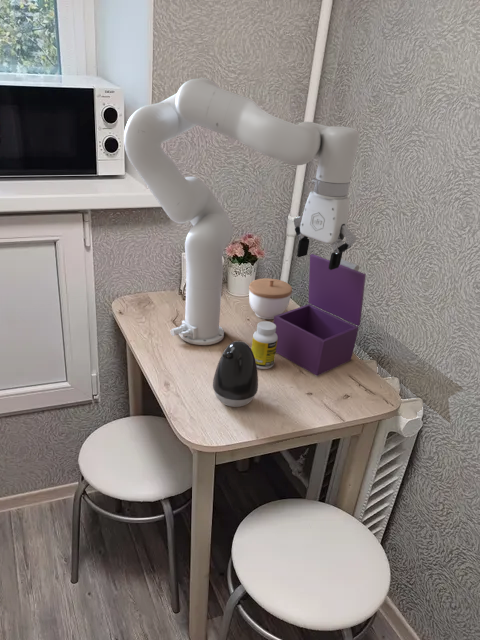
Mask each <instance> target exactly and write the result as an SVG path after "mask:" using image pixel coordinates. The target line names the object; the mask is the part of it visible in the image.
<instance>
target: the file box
mask: <svg viewBox="0 0 480 640" xmlns="http://www.w3.org/2000/svg"><path fill="white" fill-rule="evenodd" d="M272 323H274V324H275V325H276V332H275V333H276V334H277V336H278V340H277V346H276V353H275V354H277V355H279V356H282V357H283V358H285V359H286V360H288V361H290V362H291V363H294V364H295V365H296V366H299V367H301V368H302V369H304V370H306V371H307V372H309V373H311V374H313V375H315V376H316V377H318V376H320V375H323V374H325V373H327V372H329V371H331V370H334V369H336V368H338V367H340V366H342V365H344V364H347V363H348V362H350V361H352V359H353V354H354V350H355V349H354V348H355V345H356V341H357V336H358V332H359V327H360V326H357V325H355V324H353V323H351V322H348V321H346V320H344V319H342V318H340V317H338V316H336V315H333V314H331V313H329V312H327V311H325V310H323V309H320V308H318V307H316V306H314V305H312V304H310V303H308V304H305V305H302V306H300V307H297V308H294V309H292V310H288V311H284V312H283V313H282V314H279V315H277V316H274V319H273V322H272Z"/></svg>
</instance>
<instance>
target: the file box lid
mask: <svg viewBox="0 0 480 640" xmlns="http://www.w3.org/2000/svg"><path fill="white" fill-rule="evenodd" d="M329 263H330V259H327V258H324V257H321V256H319V255H316V254H314V253H310V254H309V271H308V272H309V273H308V275H309V276H308V302H307V303H308V304H310V305H312V306H314V307H316V308H319V309H321V310H323V311H325V312H327V313H329V314H331V315H334V316H336V317H338V318H340V319H342V320H344V321H347V322H349V323H351V324H353V325H355V326H357V327H360V325H361V322H362V321H361V320H362V314H363V313H362V312H363V303H364V294H365V286H366V276H367V274H366V273H364V272H362V271H359V270H360V265H359V264H356V263H354V262H351V261H348V260H346V259H343V258H341V262H340V265H339V267H338V268H336V269H332V270H330V269H329Z"/></svg>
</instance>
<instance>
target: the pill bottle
mask: <svg viewBox="0 0 480 640" xmlns="http://www.w3.org/2000/svg"><path fill="white" fill-rule="evenodd" d="M275 332H276V325H275V324H274V323H273V322H271V321H267V320H264V321H263V320H262V321H259V322H258V323H257V324H256V330H254V332H253V334H252V341H251V347H250V348H251V350H252V352H253V354H254V357H255V361H256V365H257V369H259V370H267V369H271V368H272V367H274V365H275V361H276V354H277V353H276V346H277V340H278V336H277V334H276V333H275Z"/></svg>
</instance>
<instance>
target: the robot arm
mask: <svg viewBox="0 0 480 640" xmlns="http://www.w3.org/2000/svg"><path fill="white" fill-rule="evenodd" d="M197 126H199V127H201V128H204V129H207V130H210V131H212V132H215V133H217V134H220V135H223V136H225V137H228V138H231V139H233V140H236V141H238V142H239V143H241V144H242V145H244V146H247V147H248V148H250V149H252V150H254V151H256V152H258V153H260V154H262V155H265V156H266V157H268V158H272V159H275V160H276V161H277V160H278V161H279V162H283V163H286V164H289V165H292V166H303V165H307V164H308V163H310V162H311V161H312V160H313V159H318V162H317V168H316V173H315V177H314V178H312V179H311V185H313V186H314V187H313V190H310V192H309V194H308V196H307V199H306V202H305V205H304V208H303V213H302V215H301V216H298V217H294V218H293V224H294V231H295V233H296V235H297V237H296V238H297V241H298V245H297V252H296V257H297V258H302V257H306V256H307V255H308V253H309V252H308V251H309V247H310V239H312V240H315V241H317V242H321V243H323V244H326V245H329V244H330V246H331V248H332V250H333V252H331V254H330V257H329V260H330V263H329V269H330V270H332V269H336V268H338V267H339V265H340V262H341V259H343V258H342V257H343V253H345V252H346V251H347V250H349V249H350V248H351V247H352V245H353V244H354V243H355V242H356V240H357V236H356V235H355V234H353V232H352V231H351V230H350V229H349V228H348V221H349V212H350V197H349V196H348V194H349V189H350V185H351V181H352V175H353V169H354V166H355V161H356V156H357V151H358V147H359V141H360V133H359V131H358V130H357V129H356V128H354V127H349V126H343V125H342V126H340V125H334V126H333V125H332V126H331V125H325V124H321V123H316V122H313V121H302V122H299V123H293V122H290V121H288V120H285V119H283V118H281V117H277V116H275V115H273V114H271V113H269V112H267V111H266V110H264V109H262V107H260V106H259V104H258V103H257V102H256V101H255V100H253V99H252V98H250V97H247V96H245V95H243V94H242V95H241V94H238V93H235V92H232V91H230V90H227V89H224V88H222V87H220V86H219V85H218V84H217V83H216V82H215V81H214V80H212V79H210V78H206V77H200V78H199V77H198V78H192V79H189V80H186V81H185V82H183V84H181V86H180V87H179V88H178V90H177V92H176V93H174V94H173V95H171V96H169V97H167V98H166V99H164V100H161V101H160V102H156V103H151V104H147V105H143V106H141V107H139V108H138V109H136V110H135V111H134V112H133V113H132V114H131V115H130V117H128V120H127V123H126V125H125V128H124V133H123V145H124V150H125V154H126V156H127V159H128V160H129V162H130V165H132V167H133V168H134V170H135V171H136V173H137V175H139V176H140V178H141V179H142V180H143V182H144V183H145V185H146V186H147V188H148V189H149V191H150V192H151V194H152V195H153V197H154V198H155V199H156V201H157V202H158V204H159V206H160V207H161V209H162V210H163V211H164V213H165V214H166V216H168V218H169V219H170V220H171V221H172V222H174V223H176V224H188V223H189V222H190V224H191V225H192V227H191V228H190V229H189V231H188V233H187V235H186V237H185V242H184V253H185V265H186V266H185V267H186V268H185V269H186V270H185V271H186V274H185V275H186V276H185V278H186V279H185V308H184V311H185V312H184V319H183V320H181V324H180V325H179V326H177V327H174V328H171V329H170V331H169V333H170V335H171V337H175V336H178V335H179V337H180V338H181V339H182V340H183V341H184V342H187V343H188V344H192V345H196V346H210V345H214V344H217V343H219V342H221V341H222V340H223V339H224V337H225V330H224V329H223V328H222V326H220V320H221V319H220V318H221V304H222V292H223V277H224V276H223V275H224V263H223V261H224V260H223V255H224V250H225V249H226V248H227V246H228V245H229V243H230V242H231V240H232V239H233V237H234V236H233V235H234V226H233V223H232V220H231V218H230V216H229V215H228V213H227V212H226V210H225V209H224V207H223V206H222V205H221V203H220V202H219V200H218V199H217V197H216V196H215V193H214V192H213V191H212V190H211V188H210V187H209V186H208V184H207V183H206V182H205V181H203V180H202V179H201V178H199V177H196V176H184V175H183V173H182V172H181V170H179V168H178V166H177V164H176V163H175V161H174V160H173V158H171V157H170V156H169V155H168V154H167V153H166V152H165V151H164V149H163V148H162V144H164V143H166V142H169V141H171V140H174V139H175V138H177V137H178V136H181V135H182V134H184V133H187V132H188V131H190V130H192V129H193V128H195V127H197ZM344 239H345V242H344Z"/></svg>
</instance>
